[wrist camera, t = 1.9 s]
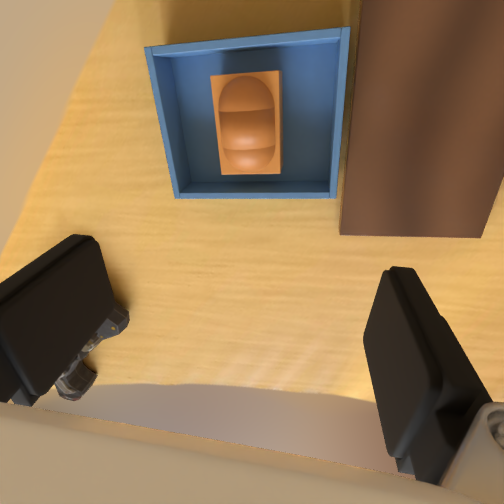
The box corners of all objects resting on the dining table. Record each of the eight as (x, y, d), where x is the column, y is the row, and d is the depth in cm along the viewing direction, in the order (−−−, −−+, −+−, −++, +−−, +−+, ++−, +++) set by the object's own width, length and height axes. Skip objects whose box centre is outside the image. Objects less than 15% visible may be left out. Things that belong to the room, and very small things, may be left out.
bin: (344, 33, 23) (350, 25, 20) (333, 184, 29) (336, 198, 26) (165, 50, 26) (143, 46, 22) (189, 186, 32) (174, 198, 29)
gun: (147, 346, 40) (50, 275, 36) (73, 406, 52) (-5, 357, 48) (162, 321, 44) (76, 255, 40) (90, 383, 56) (19, 336, 52)
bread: (282, 70, 25) (276, 69, 20) (283, 164, 29) (278, 180, 24) (220, 75, 26) (202, 75, 21) (229, 165, 30) (215, 180, 25)
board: (585, -87, 18) (606, -100, 17) (473, 231, 29) (481, 238, 28) (365, -55, 21) (368, -64, 19) (338, 229, 32) (339, 235, 30)
